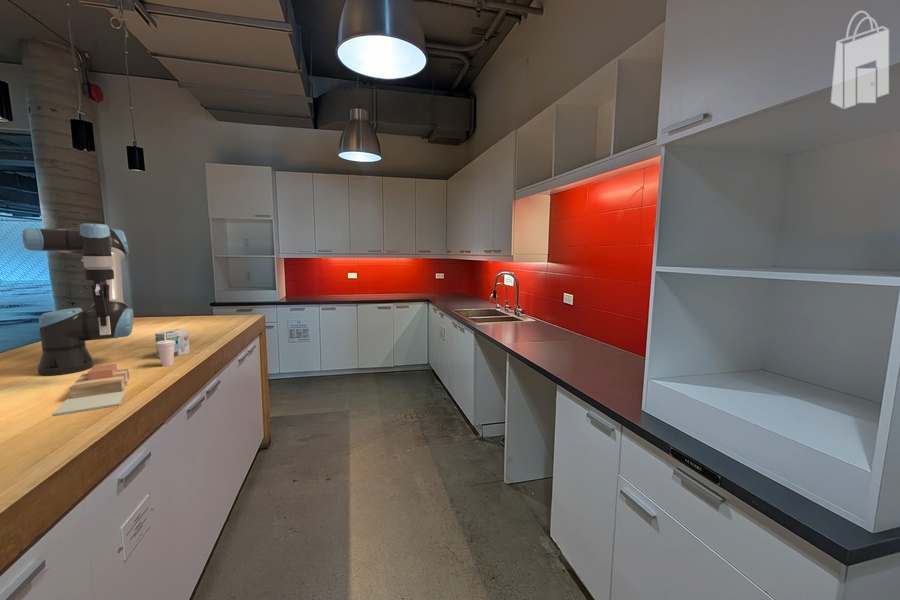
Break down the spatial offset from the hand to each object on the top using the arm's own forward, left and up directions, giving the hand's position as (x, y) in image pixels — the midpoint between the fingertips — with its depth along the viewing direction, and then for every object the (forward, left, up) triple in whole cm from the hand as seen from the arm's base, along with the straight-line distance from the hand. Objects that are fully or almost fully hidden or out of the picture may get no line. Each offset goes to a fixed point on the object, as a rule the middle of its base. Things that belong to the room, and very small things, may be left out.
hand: (105, 334), depth 134 cm
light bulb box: (-16, +27, -17) cm, 35 cm away
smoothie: (-2, +19, -17) cm, 25 cm away
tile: (+8, -4, -12) cm, 15 cm away
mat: (+24, -11, -16) cm, 31 cm away
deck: (+11, -5, -16) cm, 21 cm away
